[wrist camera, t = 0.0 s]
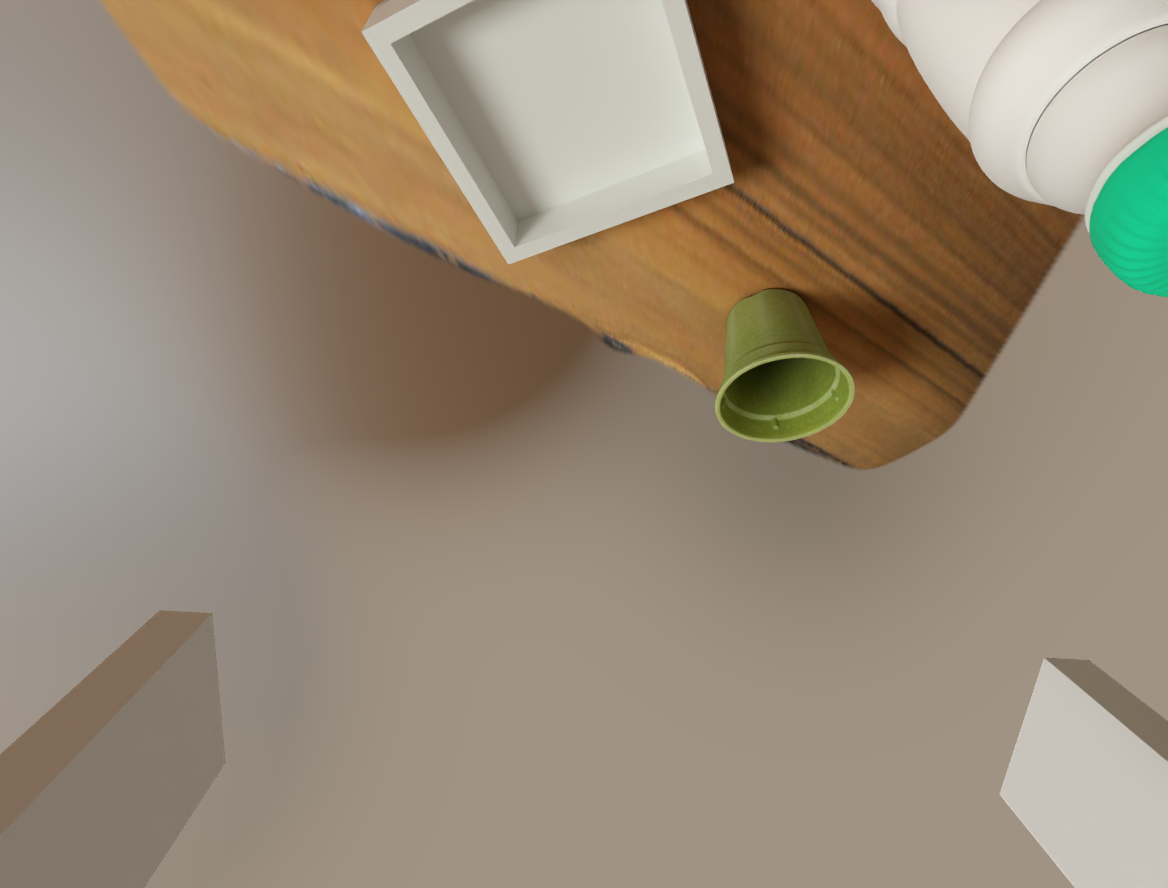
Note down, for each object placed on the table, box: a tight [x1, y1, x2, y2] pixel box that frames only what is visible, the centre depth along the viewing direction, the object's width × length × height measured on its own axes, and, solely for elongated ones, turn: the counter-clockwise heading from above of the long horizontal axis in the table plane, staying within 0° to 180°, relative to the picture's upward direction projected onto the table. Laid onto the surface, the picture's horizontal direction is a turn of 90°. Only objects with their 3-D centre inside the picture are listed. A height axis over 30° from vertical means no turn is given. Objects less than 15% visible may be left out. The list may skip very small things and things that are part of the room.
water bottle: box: [871, 0, 1168, 297], centre depth 23 cm, size 7×7×25 cm
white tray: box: [362, 0, 734, 264], centre depth 36 cm, size 15×15×4 cm
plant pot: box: [715, 289, 855, 442], centre depth 48 cm, size 9×9×9 cm
